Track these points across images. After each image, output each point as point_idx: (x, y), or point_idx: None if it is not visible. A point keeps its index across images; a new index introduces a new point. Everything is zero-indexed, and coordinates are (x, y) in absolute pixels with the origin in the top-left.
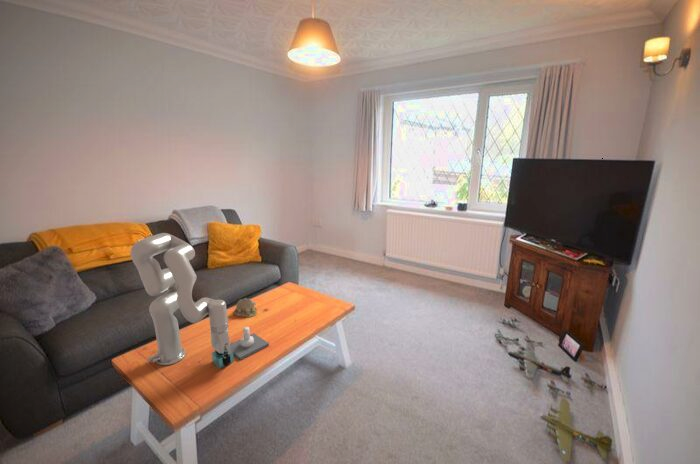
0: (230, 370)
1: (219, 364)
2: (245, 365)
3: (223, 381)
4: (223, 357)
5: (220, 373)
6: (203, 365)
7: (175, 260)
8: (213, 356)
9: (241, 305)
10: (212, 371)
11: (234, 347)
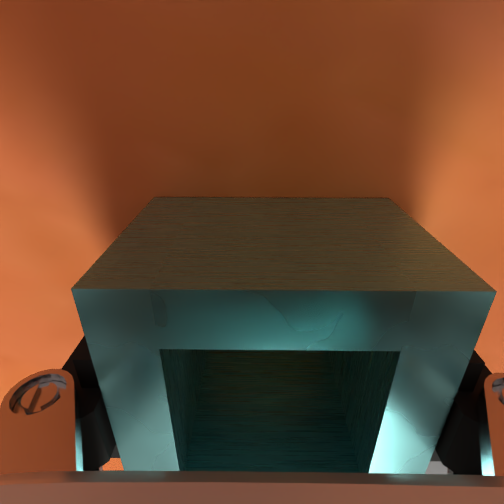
0: (24, 274)
1: (132, 230)
2: None
3: None
4: (104, 374)
5: (31, 153)
6: (454, 45)
7: None
8: (367, 261)
9: None
10: (164, 84)
11: None
